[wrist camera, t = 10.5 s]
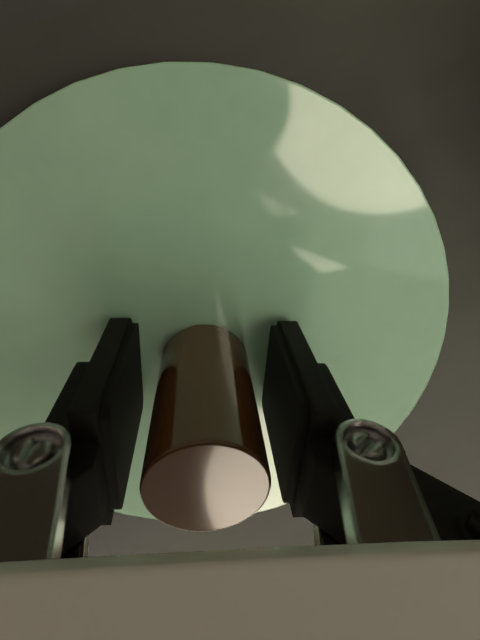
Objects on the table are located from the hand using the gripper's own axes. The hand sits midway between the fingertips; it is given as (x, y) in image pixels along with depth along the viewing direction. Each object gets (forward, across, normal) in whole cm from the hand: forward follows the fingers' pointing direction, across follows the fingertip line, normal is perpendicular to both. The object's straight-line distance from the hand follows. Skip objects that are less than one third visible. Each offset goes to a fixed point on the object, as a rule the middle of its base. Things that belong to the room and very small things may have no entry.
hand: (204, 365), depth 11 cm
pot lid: (+1, 0, 0) cm, 1 cm away
